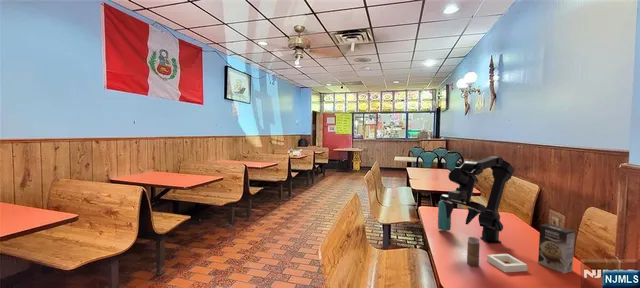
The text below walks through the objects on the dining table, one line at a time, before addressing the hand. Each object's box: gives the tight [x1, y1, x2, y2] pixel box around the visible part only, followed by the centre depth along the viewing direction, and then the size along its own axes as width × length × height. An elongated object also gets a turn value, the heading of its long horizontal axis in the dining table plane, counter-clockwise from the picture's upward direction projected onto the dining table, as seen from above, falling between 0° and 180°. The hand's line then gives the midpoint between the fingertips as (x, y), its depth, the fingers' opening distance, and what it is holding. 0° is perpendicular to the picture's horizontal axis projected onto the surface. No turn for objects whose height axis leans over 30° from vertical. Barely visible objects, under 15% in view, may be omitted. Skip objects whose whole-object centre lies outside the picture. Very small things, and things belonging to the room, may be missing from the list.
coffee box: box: [537, 223, 576, 274], centre depth 107 cm, size 9×6×16 cm
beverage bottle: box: [437, 193, 452, 232], centre depth 145 cm, size 6×7×20 cm
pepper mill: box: [466, 236, 481, 268], centre depth 109 cm, size 4×4×10 cm
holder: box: [486, 253, 528, 273], centre depth 109 cm, size 10×10×2 cm
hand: (456, 221), depth 121 cm, fingers open, 9 cm apart
